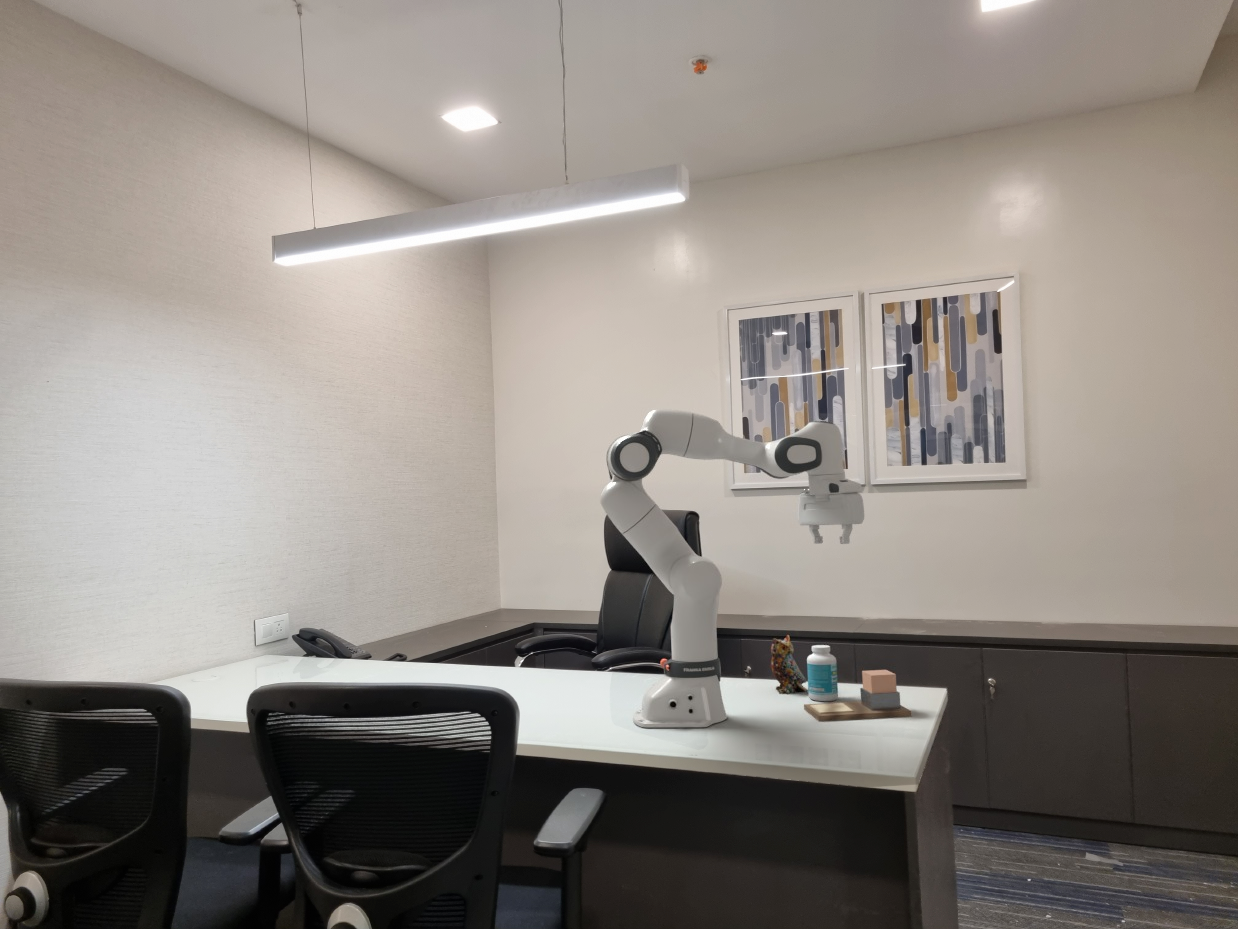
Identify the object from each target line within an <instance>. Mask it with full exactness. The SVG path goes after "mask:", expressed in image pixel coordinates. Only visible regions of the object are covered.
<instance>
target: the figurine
mask: <svg viewBox="0 0 1238 929" xmlns="http://www.w3.org/2000/svg"><path fill="white" fill-rule="evenodd" d="M790 639H791V638H790V635H789V634H786V637H785V638H784V639H777V638H773V639H772V643H771V646H770V653H771V660H770V669H771V671H772V674H773V676H774V677H775V679H776V681H777V682H778V683H779V685H777V686H776V687H775V690H777V693H779V694H785V695H789V694H790V693H791V694H792V693H807V691H808V689H807V688H806V687H805V686H804V685H803V684H804V683H805V684H806V683H807V679H806V678H805V676H804V674H803V673H802V671H801V670H800V668H799V666H798V665H797V662H796V661H795V659H794V657H793V653H794V651H795V650H794V645H793V643H792V642H791V641H790Z"/></svg>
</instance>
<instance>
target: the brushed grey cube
mask: <svg viewBox="0 0 1238 929" xmlns="http://www.w3.org/2000/svg"><path fill="white" fill-rule="evenodd" d="M859 689H860V701H861V704H862V705H864V706H865V707H867V708H869V709H870V710H889V709H901V707H900V705H901V694H900V691H897V692H892V693H873V694H872V693H870V692H868V691H867V690H865V689H863V687H860V688H859Z"/></svg>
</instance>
